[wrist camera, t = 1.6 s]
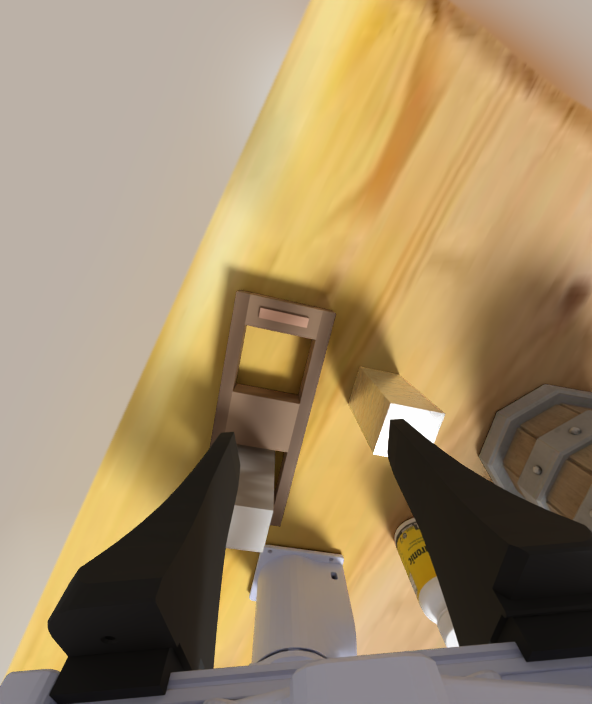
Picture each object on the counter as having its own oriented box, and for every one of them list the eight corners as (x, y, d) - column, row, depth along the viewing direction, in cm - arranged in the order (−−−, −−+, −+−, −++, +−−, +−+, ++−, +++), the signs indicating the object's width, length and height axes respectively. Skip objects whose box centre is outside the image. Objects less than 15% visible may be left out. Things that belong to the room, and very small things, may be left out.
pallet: (331, 310, 26) (353, 326, 18) (280, 510, 31) (280, 589, 23) (240, 289, 25) (221, 297, 17) (203, 499, 30) (176, 577, 22)
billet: (399, 374, 27) (445, 413, 20) (386, 411, 28) (425, 462, 21) (359, 366, 27) (390, 403, 19) (348, 404, 28) (373, 453, 20)
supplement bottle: (433, 508, 32) (497, 606, 22) (443, 543, 33) (508, 650, 24) (387, 523, 32) (431, 627, 23) (399, 558, 34) (445, 669, 24)
